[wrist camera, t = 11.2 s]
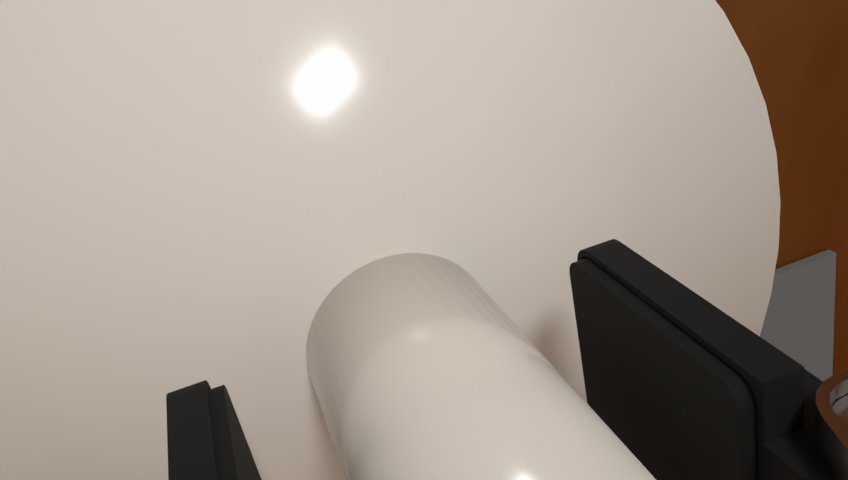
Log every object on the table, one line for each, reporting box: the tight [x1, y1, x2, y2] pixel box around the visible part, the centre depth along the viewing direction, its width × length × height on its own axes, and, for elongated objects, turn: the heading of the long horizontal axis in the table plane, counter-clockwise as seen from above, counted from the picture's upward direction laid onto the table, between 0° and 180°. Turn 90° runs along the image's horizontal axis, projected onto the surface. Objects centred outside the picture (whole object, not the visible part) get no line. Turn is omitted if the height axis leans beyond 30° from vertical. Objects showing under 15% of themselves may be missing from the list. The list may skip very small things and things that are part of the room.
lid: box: [0, 0, 780, 480], centre depth 11 cm, size 15×15×7 cm
